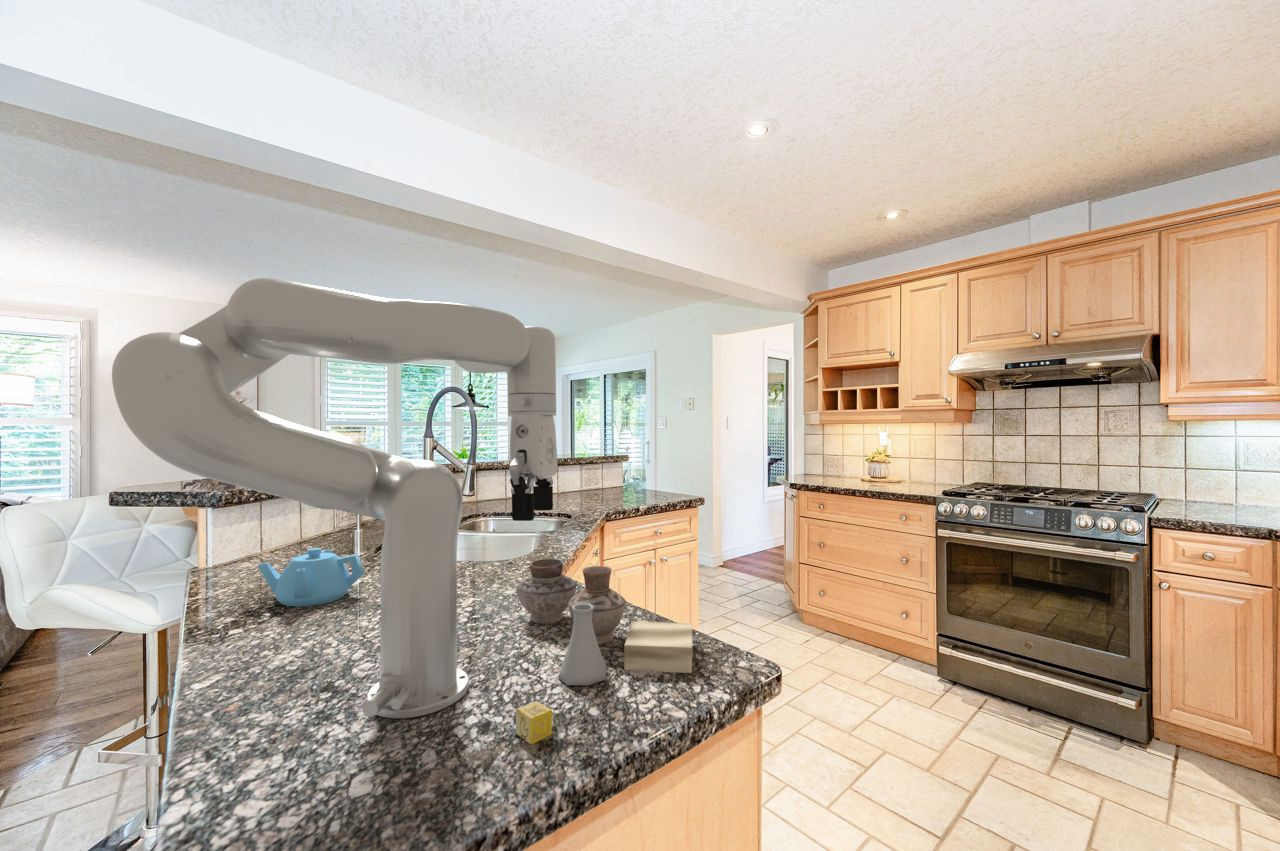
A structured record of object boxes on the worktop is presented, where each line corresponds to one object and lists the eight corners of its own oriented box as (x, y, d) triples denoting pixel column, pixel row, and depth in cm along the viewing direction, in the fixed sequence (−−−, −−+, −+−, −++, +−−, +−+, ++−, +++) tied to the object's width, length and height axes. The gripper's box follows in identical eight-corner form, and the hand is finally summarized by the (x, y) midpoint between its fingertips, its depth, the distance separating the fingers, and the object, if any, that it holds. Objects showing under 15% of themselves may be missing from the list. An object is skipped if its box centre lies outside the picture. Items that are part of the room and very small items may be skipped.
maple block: (692, 675, 76) (691, 647, 76) (624, 672, 77) (624, 645, 77) (692, 647, 86) (692, 623, 86) (632, 645, 87) (632, 621, 87)
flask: (554, 668, 78) (554, 601, 78) (601, 662, 80) (601, 596, 80) (562, 691, 71) (561, 617, 71) (613, 683, 73) (613, 612, 73)
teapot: (294, 615, 101) (294, 560, 102) (255, 603, 109) (255, 552, 109) (368, 594, 115) (368, 545, 115) (329, 585, 122) (329, 539, 122)
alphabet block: (537, 724, 63) (537, 699, 63) (552, 734, 61) (552, 708, 61) (515, 735, 61) (515, 708, 61) (530, 746, 58) (530, 718, 58)
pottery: (593, 657, 82) (592, 581, 82) (504, 619, 99) (504, 556, 99) (641, 636, 90) (641, 567, 90) (552, 605, 107) (552, 547, 107)
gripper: (537, 403, 73) (539, 525, 73) (569, 408, 90) (570, 506, 90) (486, 404, 74) (488, 524, 74) (527, 409, 91) (529, 506, 91)
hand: (533, 514), depth 82 cm, fingers open, 9 cm apart
